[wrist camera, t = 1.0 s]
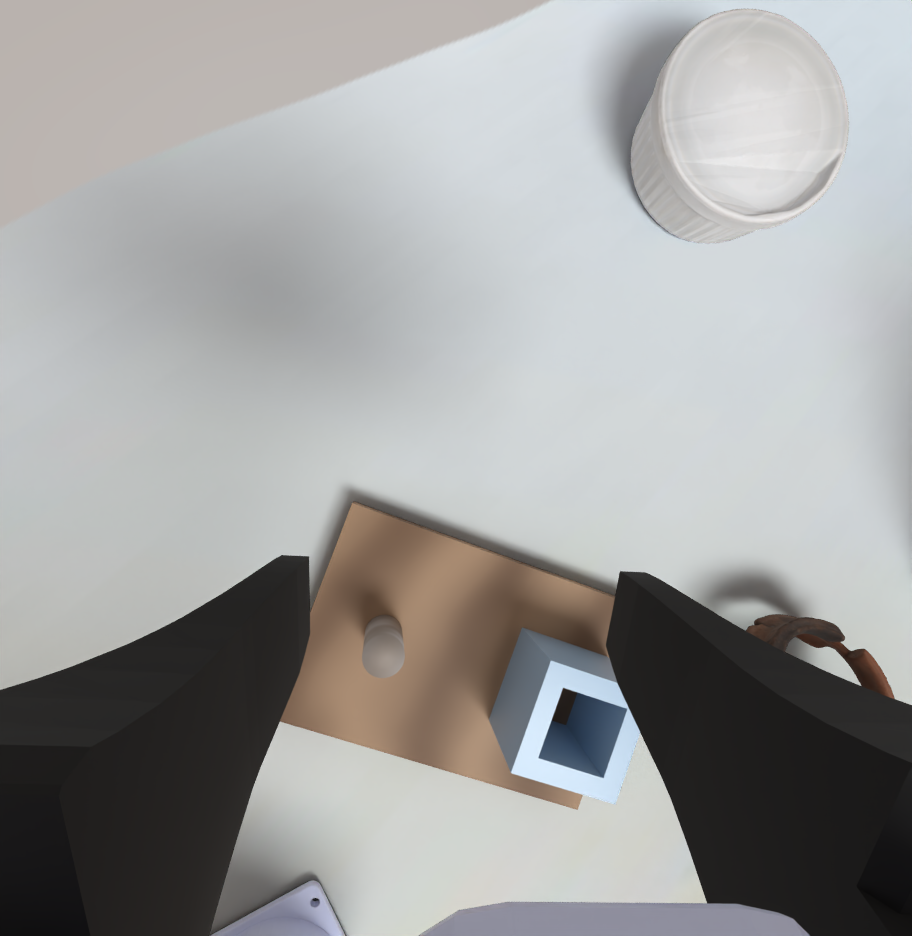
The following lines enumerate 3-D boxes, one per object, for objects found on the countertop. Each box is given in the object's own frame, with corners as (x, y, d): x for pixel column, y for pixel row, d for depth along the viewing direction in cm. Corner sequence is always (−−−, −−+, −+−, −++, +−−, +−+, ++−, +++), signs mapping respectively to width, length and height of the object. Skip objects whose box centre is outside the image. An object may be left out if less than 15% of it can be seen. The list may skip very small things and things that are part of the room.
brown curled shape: (650, 725, 32) (739, 712, 25) (696, 605, 37) (780, 567, 30) (826, 855, 30) (974, 880, 23) (849, 711, 35) (977, 696, 28)
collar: (607, 656, 29) (653, 694, 24) (575, 747, 29) (615, 804, 24) (522, 627, 29) (551, 660, 24) (488, 719, 28) (510, 773, 23)
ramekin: (685, 297, 32) (744, 263, 27) (576, 149, 31) (616, 84, 26) (809, 194, 33) (889, 142, 28) (708, 48, 32) (771, -34, 27)
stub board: (634, 602, 31) (681, 628, 26) (568, 793, 30) (603, 856, 26) (353, 501, 29) (347, 507, 24) (275, 705, 28) (252, 755, 23)
